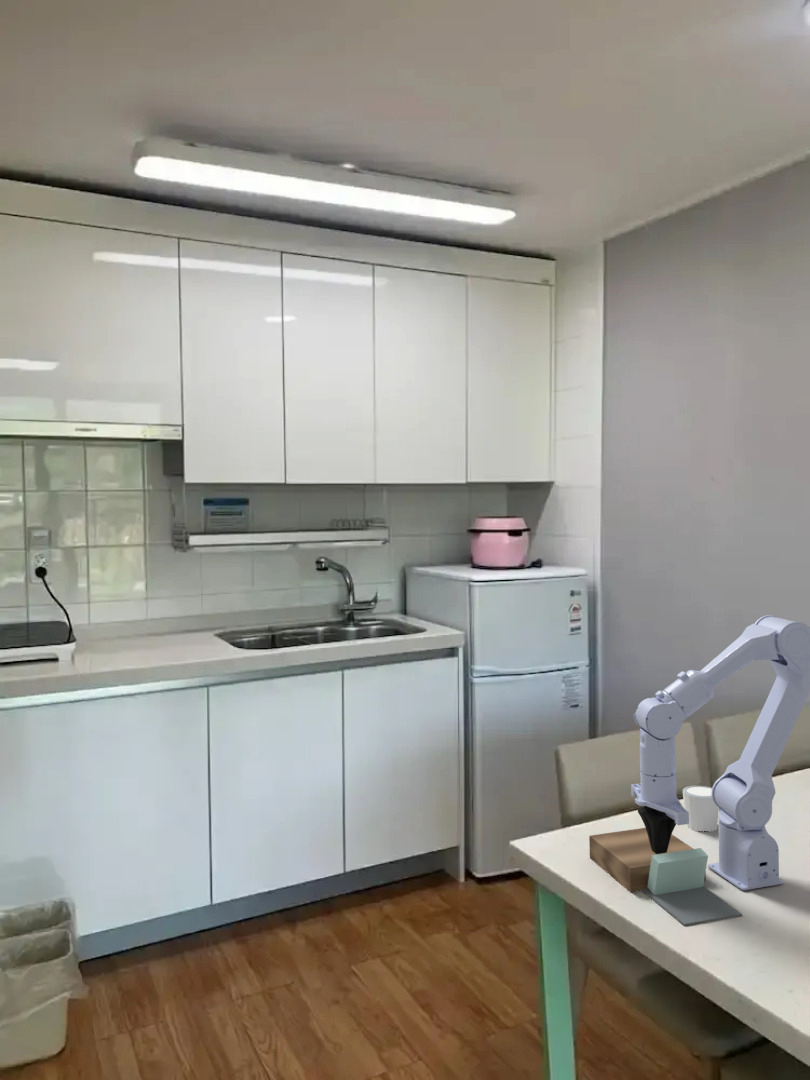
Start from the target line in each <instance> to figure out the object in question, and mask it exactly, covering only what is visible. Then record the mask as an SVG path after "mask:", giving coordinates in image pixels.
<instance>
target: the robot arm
mask: <svg viewBox="0 0 810 1080" xmlns="http://www.w3.org/2000/svg"><path fill="white" fill-rule="evenodd" d="M756 660H757V661H760V660H761V661H766V660H767V661H769V662H770V664H771V666H772V668H773V670H774V672H775V674H776V678H775V681H774V683H773V684H772V687H771V689H770V691H769V694H768V697H767V698H766V701H765V702H764V705H763V707H762V709H761V712H760V713H759V716H758V718H757V720H756V722H755V725H754V726H753V728H752V730H751V733H750V736H749V738H748V740H747V741H746V744H745V747H744V749H743V751H742V753H741V755H740V758H739V759H738V760H736V761H735V762H733V763H731V764H729V765H727V768H726V769H725V771H724V773H723V774H722V775H721V776H720V777H719V778H718V779H716V780H715V782H714V783H713V785H712V787H711V788H712V799H713V801H714V803H715V804H716V805H717V806H718V807H719V811H718V823H717V824H718V862H713V863H707V867H708V869H711V870H712V872H715V873H716V874H717V875H719V876H720V877H722V878H723V879H725V880H727V881H728V883H731V884H732V885H734V886H735V887H736V888H738V889H739V890H741V891H747V890H748V891H749V890H755V889H760V888H765V887H772V886H779V885H783V884H784V879H781V878H780V866H779V865H780V862H779V861H780V857H779V855H780V854H779V851H780V850H779V846H778V843H777V840H776V839H775V838H774V837H772V836H771V834H769V832H768V831H767V829H766V825H767V824H768V822H769V821H770V819H771V817H772V814H773V800H774V798H775V795H776V793H777V792H776V788H775V784H774V780H773V774H774V772H775V769H776V767H777V766H778V765H777V764H778V762H779V760H780V759H781V756H782V754H783V751H784V750H785V747H786V745H787V742H788V741H789V739H790V737H791V734H792V732H793V729H794V728H795V725H796V723H797V721H798V720H799V716H800V714H801V712H802V710H803V708H804V705H805V704H806V701H807V700H808V697H809V695H810V626H809V625H808V624H806V623H804V622H801V621H793V620H789V619H785V618H781V617H779V616H776V615H772V614H768V615H763V616H761V617H760V618H758V619H757V620H756V621H755V622H754V623H752V624H749V625H748V626H746V628H745V629H744V630H743V632H742V633H741V635H740V636H739V637H737V638H736V639H735V640H734V641H733V642H732V643H731V644H730V645H728V646H727V647H726V648H725V649H724V650H723V651H721V652H720V653H719V654H718V655H717V656H716V657H714V658H713V659H712V660H711V661H710V662H709V663H708V664H706V665H705V666H704V667H703V668H702V669H701V670H693V669H689V670H687V671H683V670H682V671H680V672H679V673H678V674H677V675H676V677H677V679H676V680H675V681H673V682H672V683H671V684H669V685H668V686H666V687H665V688H664V689H662V690H657V692H655V693H654V694H655V697H651V698H650V697H647V698H645V699H643V700H642V701H640V703H638V706H637V709H636V710H635V713H633V719H634V722H635V724H636V725H637V726H638V727H639V740H640V741H639V764H640V765H639V766H640V769H639V771H640V772H639V773H640V774H639V775H640V778H639V779H640V783H633V784H630V789H631V790H630V795H631V796H632V797H634V798H635V799H634V803H635V804H637V805H638V806H640V807H638V808H637V813H638V815H639V817H640V818H641V820H642V822H643V824H644V828H646V830H647V834H648V838H649V842H650V845H651V849H652V851H653V852H654V853H655V854H661V853H667V850H668V846H669V842H670V838H671V835H673V831H674V829H675V827H676V825H677V826H684V825H686V824H689V812H688V811H686V810H685V808H684V805H682V802H681V801H680V800H679V799H678V797H677V755H676V750H677V749H676V748H677V746H676V735H678V734H679V733H680V731H681V728H682V726H683V722H684V721H685V720H686V719H687V718H689V717H690V716H691V715H693V714H694V713H695V712H696V711H698V710H699V709H700V708H701V707H703V706H704V705H705V704H707V703H708V702H710V700H712V699H713V698H714V695H715V689H716V687H717V686H718V685H719V684H721V683H723V682H724V681H725V680H728V679H729V678H730V677H731V676H733V675H735V674H736V673H737V672H738V671H740V670H741V669H743V668H744V667H746V666H748V665H749V664H751V663H752V662H754V661H756Z"/></svg>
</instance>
